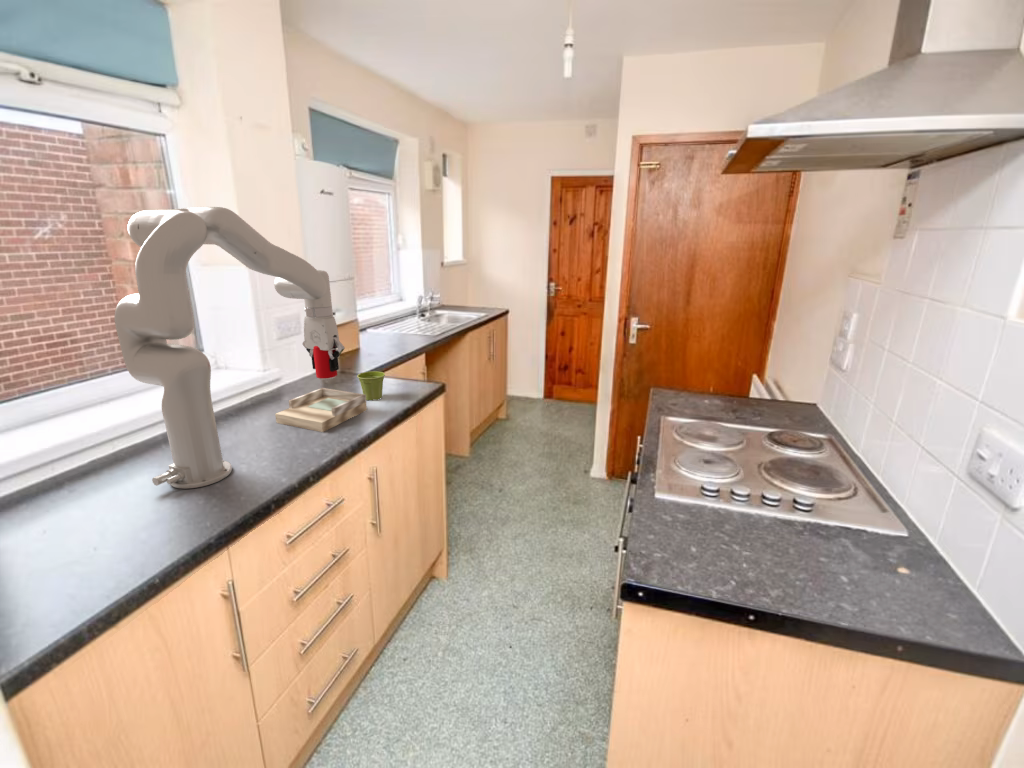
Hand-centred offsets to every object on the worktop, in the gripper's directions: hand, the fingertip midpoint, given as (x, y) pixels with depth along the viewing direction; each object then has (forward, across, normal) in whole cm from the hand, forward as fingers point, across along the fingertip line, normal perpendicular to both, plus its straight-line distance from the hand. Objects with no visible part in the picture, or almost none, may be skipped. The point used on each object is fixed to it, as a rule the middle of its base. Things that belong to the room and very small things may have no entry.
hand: (325, 368), depth 149 cm
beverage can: (+3, 0, 0) cm, 3 cm away
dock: (+15, 0, -3) cm, 15 cm away
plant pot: (+15, +3, +18) cm, 24 cm away
